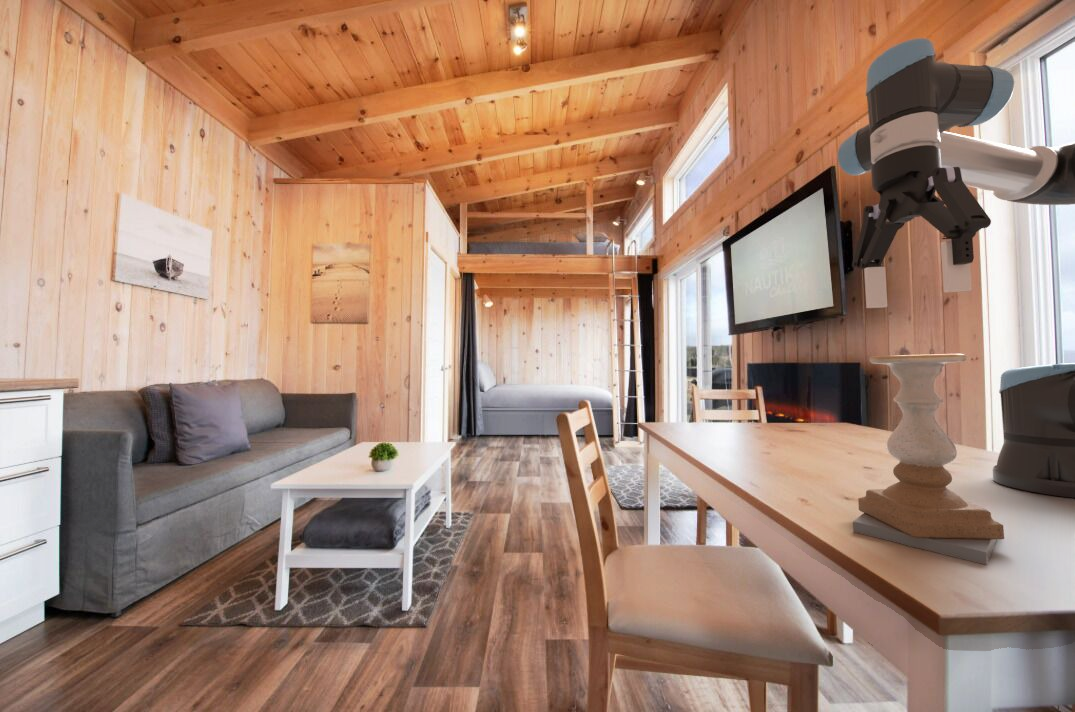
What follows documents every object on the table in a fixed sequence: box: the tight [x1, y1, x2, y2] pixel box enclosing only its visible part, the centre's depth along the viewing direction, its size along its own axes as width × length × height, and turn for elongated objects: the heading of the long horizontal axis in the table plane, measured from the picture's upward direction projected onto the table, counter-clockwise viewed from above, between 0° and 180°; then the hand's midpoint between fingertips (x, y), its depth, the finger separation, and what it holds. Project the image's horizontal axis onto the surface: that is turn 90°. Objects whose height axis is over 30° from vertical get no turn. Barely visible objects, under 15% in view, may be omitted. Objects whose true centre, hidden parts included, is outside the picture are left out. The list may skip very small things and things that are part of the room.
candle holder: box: [857, 353, 1005, 540], centre depth 58 cm, size 11×11×24 cm
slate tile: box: [852, 512, 998, 566], centre depth 58 cm, size 13×13×2 cm
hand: (912, 300), depth 59 cm, fingers open, 13 cm apart
